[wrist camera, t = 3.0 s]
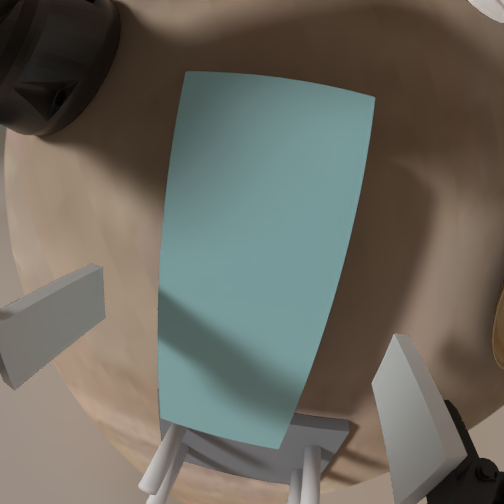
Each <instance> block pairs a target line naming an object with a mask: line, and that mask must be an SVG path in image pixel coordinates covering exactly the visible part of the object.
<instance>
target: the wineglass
mask: <svg viewBox="0 0 504 504" xmlns="http://www.w3.org/2000/svg"><path fill="white" fill-rule="evenodd" d="M468 1H469V2H470V3H471V4H472V5H473V6H474V7H476V8H477V9H478V10H479V11H480V12H482V13H483V14H485V15H486V16H488V17H489V18H491V19H492V20H495V21H497V22H500V23H504V0H468Z"/></svg>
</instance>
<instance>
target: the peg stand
mask: <svg viewBox="0 0 504 504" xmlns="http://www.w3.org/2000/svg"><path fill="white" fill-rule="evenodd" d="M158 404H159V419H160V431H161V441H162V443H161V444H160V446H159V448H158V450H157V452H156V454H155V456H154V457H153V459H152V461H151V463H150V465H149V467H148V469H147V470H146V472H145V474H144V476H143V478H142V480H141V482H140V483H139V485H138V487H139V488H140V489H141V490H143V491H144V492H146V493H148V494H150V496H149V498H148V500H147V502H146V504H165V502H166V500H167V497H168V495H169V493H170V491H171V489H172V487H173V484H174V482H175V480H176V478H177V475H178V473H179V471H180V469H181V466H182V464H183V462H184V461H185V462H189V463H192V464H195V465H198V466H202V467H205V468H209V469H213V470H216V471H220V472H224V473H228V474H232V475H237V476H241V477H246V478H251V479H256V480H262V481H268V482H274V483H281V484H288V485H290V490H289V498H288V504H319V501H320V500H319V499H320V475H321V473H322V472H323V470H324V469H325V468H326V466H327V465H328V464H329V462H330V461H331V459H332V458H333V456H334V455H335V454H336V452H337V451H338V449H339V448H340V446H341V445H342V443H343V442H344V440H345V438H346V437H347V435H348V434H349V432H350V428H349V420H340V419H331V418H323V417H315V416H308V415H302V414H295V413H294V414H293V417H292V419H291V422H290V424H289V426H288V429H287V431H286V433H285V436H284V438H283V440H282V443H281V445H280V447H279V449H274V448H268V447H263V446H258V445H253V444H248V443H244V442H239V441H235V440H231V439H227V438H223V437H219V436H215V435H212V434H208V433H205V432H201V431H198V430H194V429H191V428H188V427H185V426H182V425H179V424H176V423H173V422H170V421H167V420H164V419H162V418H161V416H160V400H159V389H158Z"/></svg>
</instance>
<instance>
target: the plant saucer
mask: <svg viewBox="0 0 504 504" xmlns="http://www.w3.org/2000/svg"><path fill="white" fill-rule="evenodd" d="M492 351H493V356H494V359H495V361H496V363H497V365H498V366H499V367H500V368H501V369H503V370H504V281H503V284H502V287H501V290H500V293H499V296H498V300H497V304H496V309H495V314H494V320H493V329H492Z"/></svg>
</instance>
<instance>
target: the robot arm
mask: <svg viewBox="0 0 504 504" xmlns="http://www.w3.org/2000/svg"><path fill="white" fill-rule="evenodd" d="M119 35H120V17H119V13H118V10H117V8H116V7H115V5H114V4H113V3H112V2H111V1H110V0H0V124H1V125H3V126H5V127H7V128H9V129H11V130H13V131H15V132H17V133H20V134H24V135H49V134H52V133H55V132H57V131H59V130H60V129H62V128H64V127H65V126H66V125H68V124H69V123H70V122H71V121H73V120H74V119H75V118H76V117H77V116H78V115H79V114H80V113H81V111H82V110H83V109H84V108H85V107H86V106H87V104H88V103H89V102H90V100H91V99H92V98H93V96H94V95H95V93H96V92H97V90H98V88H99V87H100V85H101V83H102V82H103V80H104V78H105V76H106V74H107V72H108V70H109V68H110V65H111V63H112V61H113V58H114V55H115V52H116V49H117V45H118V41H119ZM104 318H105V305H104V282H103V267H102V266H99V265H96V264H93V263H90V264H88V265H86V266H84V267H82V268H80V269H78V270H76V271H74V272H72V273H70V274H67V275H65V276H63V277H61V278H59V279H57V280H55V281H53V282H51V283H49V284H47V285H45V286H43V287H41V288H39V289H37V290H36V291H34V292H32V293H30V294H28V295H26V296H24V297H22V298H20V299H18V300H16V301H14V302H13V303H11V304H9V305H7V306H5V307H3V308H1V309H0V373H1V376H2V378H3V381H4V382H5V383H6V384H7V385H9V386H10V387H11V388H12V389H14V390H16V389H17V388H18V387H19V386H21V385H22V384H23V383H24V382H26V381H27V380H28V379H29V378H30V377H32V376H33V375H34V374H35V373H36V372H38V371H39V370H40V369H41V368H43V367H44V366H45V365H46V364H47V363H49V362H50V361H51V360H52V359H54V358H55V357H56V356H57V355H59V354H60V353H61V352H62V351H64V350H65V349H66V348H67V347H69V346H70V345H71V344H72V343H74V342H75V341H76V340H77V339H79V338H80V337H81V336H83V335H84V334H85V333H86V332H88V331H89V330H90V329H91V328H93V327H94V326H95V325H97V324H98V323H99V322H101V321H102V320H103V319H104ZM371 384H372V388H373V392H374V396H375V400H376V405H377V409H378V413H379V418H380V422H381V427H382V432H383V437H384V442H385V447H386V452H387V457H388V463H389V469H390V475H391V481H392V487H393V494H394V501H395V504H417V503H418V502H419V501H420V500H421V499H423V498H424V497H425V496H426V498H427V502H428V503H427V504H504V472H500V471H499V470H498V468H497V466H496V465H495V464H494V463H493V462H492V461H491V460H489V459H486V458H479V456H478V454H477V452H476V449H475V447H474V445H473V443H472V440H471V438H470V436H469V433H468V431H467V429H465V425H464V423H463V421H461V420H462V418H461V416H460V414H459V412H458V410H457V409H456V408H455V406H454V405H453V404H452V403H451V402H450V401H449V400H443V398H442V396H441V394H440V392H439V390H438V388H437V386H436V384H435V382H434V380H433V378H432V376H431V374H430V373H429V371H428V369H427V367H426V365H425V363H424V361H423V359H422V357H421V356H420V354H419V352H418V350H417V348H416V347H415V345H414V343H413V341H412V339H411V338H410V336H409V335H402V334H396V333H394V335H393V337H392V340H391V342H390V344H389V347H388V349H387V351H386V353H385V356H384V358H383V360H382V362H381V364H380V367H379V369H378V371H377V373H376V375H375V377H374V379H373V381H372V383H371Z"/></svg>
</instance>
